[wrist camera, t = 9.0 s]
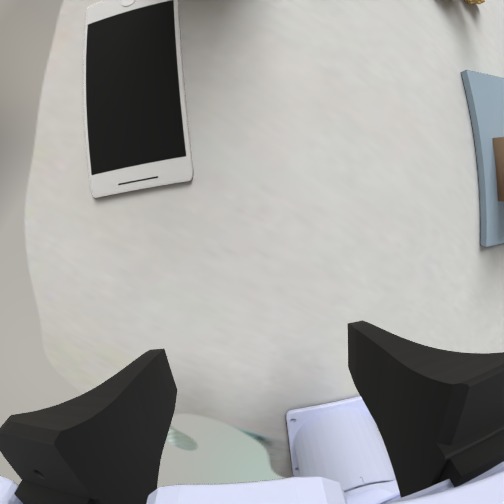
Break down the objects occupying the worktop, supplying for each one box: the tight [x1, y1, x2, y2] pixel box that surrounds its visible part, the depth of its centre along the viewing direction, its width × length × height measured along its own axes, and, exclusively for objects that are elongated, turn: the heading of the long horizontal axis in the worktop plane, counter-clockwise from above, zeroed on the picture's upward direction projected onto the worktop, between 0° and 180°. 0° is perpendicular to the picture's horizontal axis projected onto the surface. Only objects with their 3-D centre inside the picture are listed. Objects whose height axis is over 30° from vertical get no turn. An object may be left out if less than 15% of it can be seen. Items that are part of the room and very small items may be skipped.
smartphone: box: [83, 0, 193, 198], centre depth 18 cm, size 7×15×1 cm, turn 7°
